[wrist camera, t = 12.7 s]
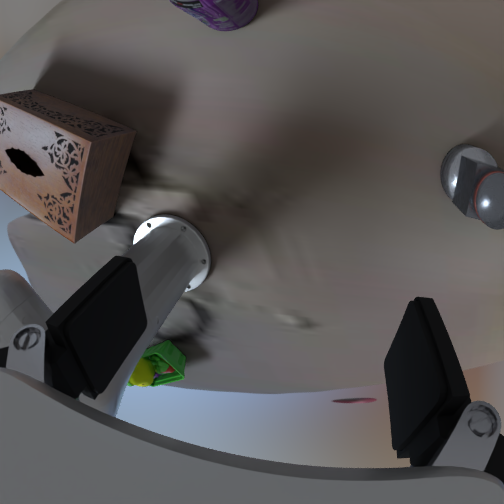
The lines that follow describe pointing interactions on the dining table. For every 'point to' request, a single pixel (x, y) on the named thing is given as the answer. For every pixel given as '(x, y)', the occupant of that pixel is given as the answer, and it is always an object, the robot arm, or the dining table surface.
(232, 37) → the dining table surface
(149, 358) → the fruit basket
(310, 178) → the dining table surface
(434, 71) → the dining table surface
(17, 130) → the tissue box cover
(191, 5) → the beverage can
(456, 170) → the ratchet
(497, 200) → the grey domed block
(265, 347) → the dining table surface
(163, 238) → the robot arm
